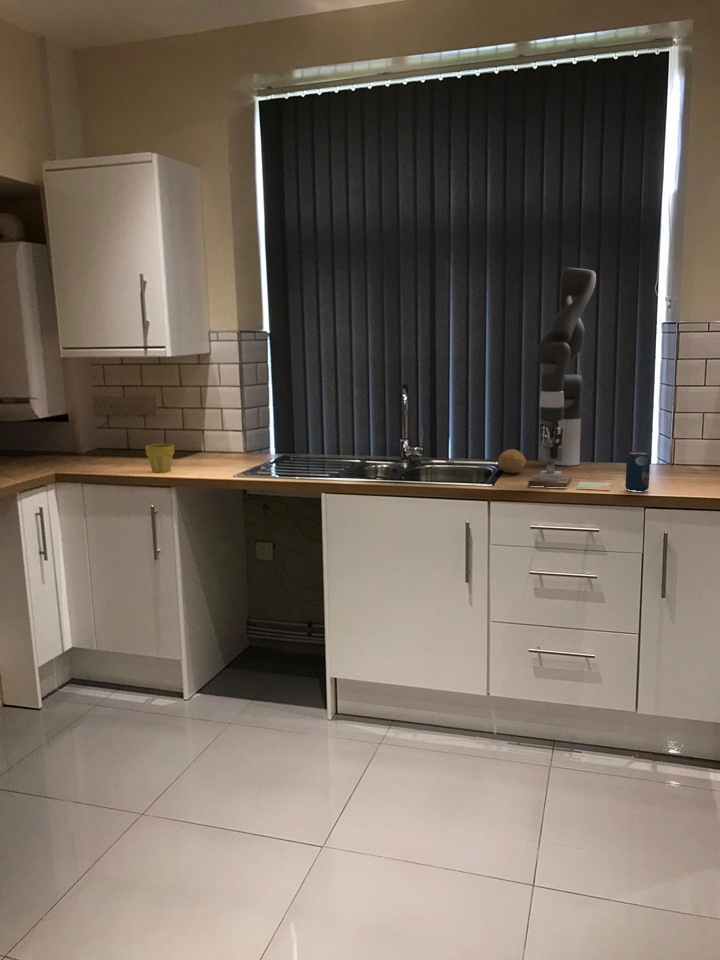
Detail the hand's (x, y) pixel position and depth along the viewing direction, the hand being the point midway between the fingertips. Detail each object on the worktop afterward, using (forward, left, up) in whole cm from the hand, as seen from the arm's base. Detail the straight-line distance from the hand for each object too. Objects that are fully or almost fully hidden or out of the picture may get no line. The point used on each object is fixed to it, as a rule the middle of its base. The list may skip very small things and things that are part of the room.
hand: (550, 456), depth 263 cm
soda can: (+2, +27, -9) cm, 29 cm away
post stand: (0, 0, -9) cm, 9 cm away
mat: (0, +14, -9) cm, 17 cm away
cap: (0, 0, -1) cm, 1 cm away
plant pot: (+14, -141, -9) cm, 142 cm away
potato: (-18, -16, -9) cm, 26 cm away
